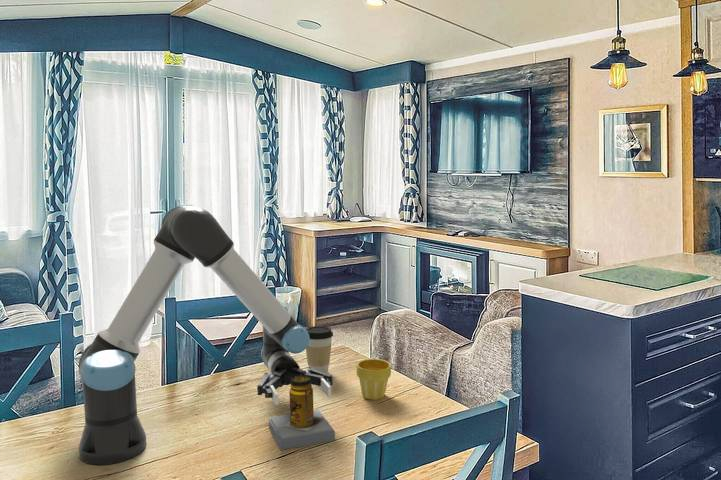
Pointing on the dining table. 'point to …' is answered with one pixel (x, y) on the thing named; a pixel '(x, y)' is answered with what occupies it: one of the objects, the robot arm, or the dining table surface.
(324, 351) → the coffee cup
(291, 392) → the condiment
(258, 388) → the robot arm
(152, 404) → the dining table surface
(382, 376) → the plant pot
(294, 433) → the grey square coaster
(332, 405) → the dining table surface
